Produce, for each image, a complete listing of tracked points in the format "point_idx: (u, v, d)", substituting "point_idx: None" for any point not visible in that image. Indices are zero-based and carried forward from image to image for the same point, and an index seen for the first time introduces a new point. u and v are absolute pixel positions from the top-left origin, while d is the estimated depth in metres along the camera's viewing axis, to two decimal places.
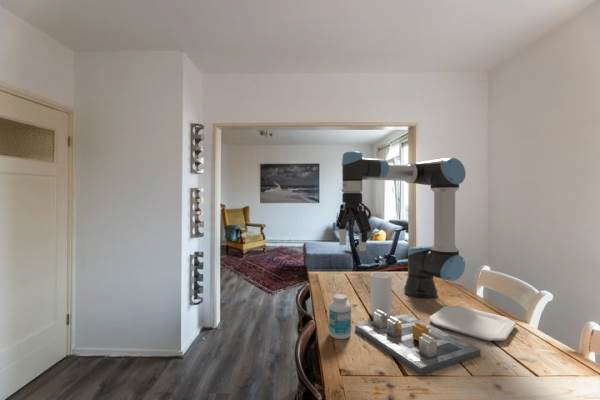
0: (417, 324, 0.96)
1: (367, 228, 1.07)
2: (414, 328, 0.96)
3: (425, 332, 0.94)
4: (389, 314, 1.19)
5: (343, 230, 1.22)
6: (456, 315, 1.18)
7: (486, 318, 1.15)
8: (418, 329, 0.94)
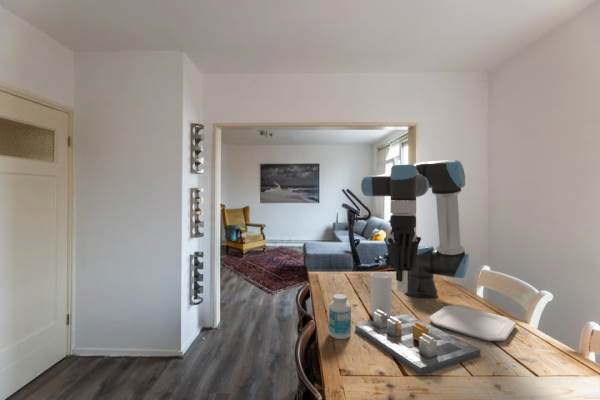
0: (417, 324, 0.96)
1: (393, 264, 0.91)
2: (414, 328, 0.96)
3: (425, 332, 0.94)
4: (389, 314, 1.19)
5: None
6: (456, 315, 1.18)
7: (486, 318, 1.15)
8: (418, 329, 0.94)
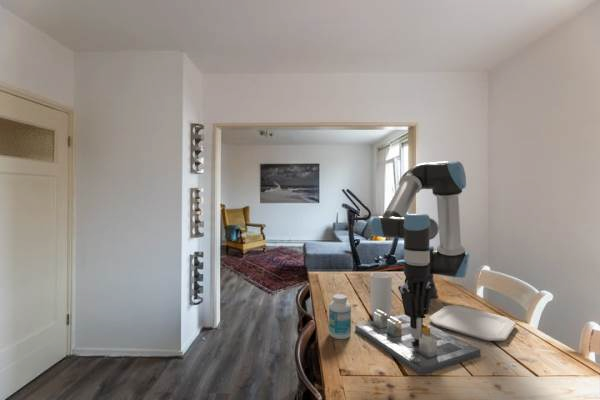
0: None
1: None
2: None
3: (427, 332, 0.94)
4: (389, 314, 1.19)
5: None
6: (456, 315, 1.18)
7: (486, 318, 1.15)
8: None
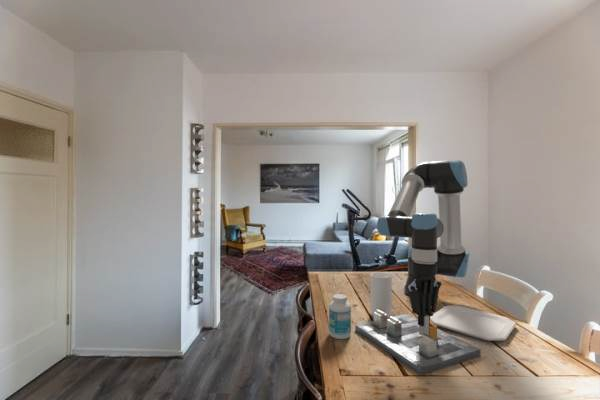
0: None
1: None
2: None
3: (434, 330, 0.95)
4: (389, 314, 1.19)
5: None
6: (456, 315, 1.18)
7: (486, 318, 1.15)
8: None
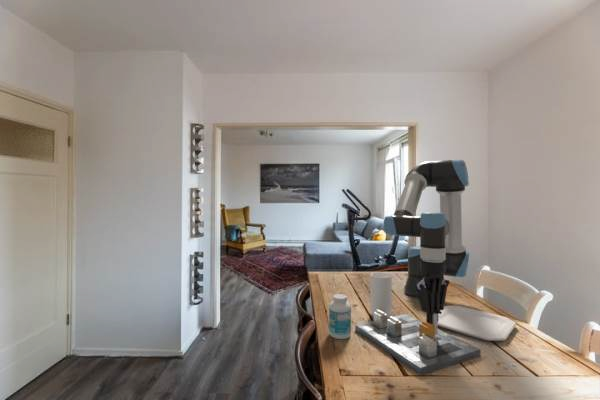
0: (423, 322, 0.97)
1: None
2: (420, 326, 0.97)
3: (431, 330, 0.95)
4: (389, 314, 1.19)
5: None
6: (456, 315, 1.18)
7: (486, 318, 1.15)
8: (425, 327, 0.96)
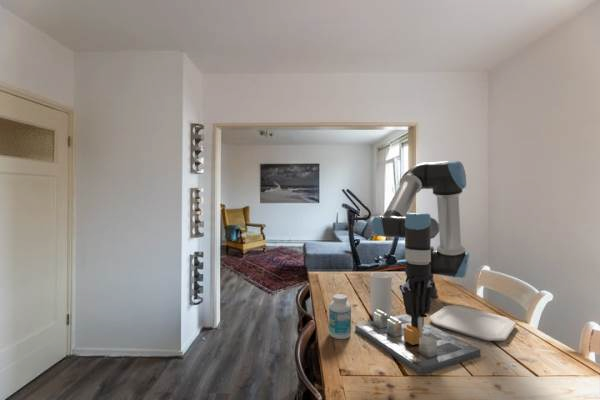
0: (408, 326, 0.95)
1: None
2: (405, 330, 0.94)
3: (416, 334, 0.92)
4: (389, 314, 1.19)
5: None
6: (456, 315, 1.18)
7: (486, 318, 1.15)
8: (409, 331, 0.93)
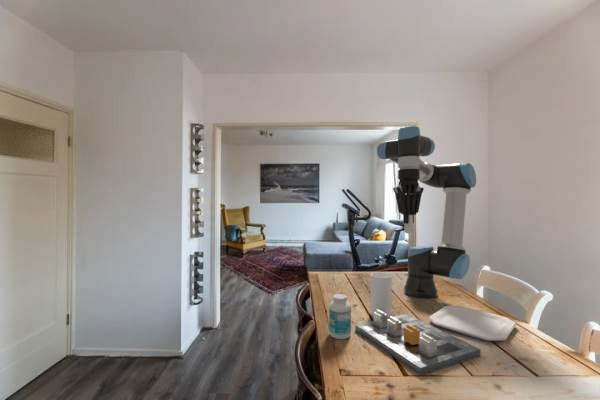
0: (408, 326, 0.95)
1: (401, 209, 1.11)
2: (405, 330, 0.94)
3: (416, 334, 0.92)
4: (389, 314, 1.19)
5: None
6: (456, 315, 1.18)
7: (486, 318, 1.15)
8: (409, 331, 0.93)
